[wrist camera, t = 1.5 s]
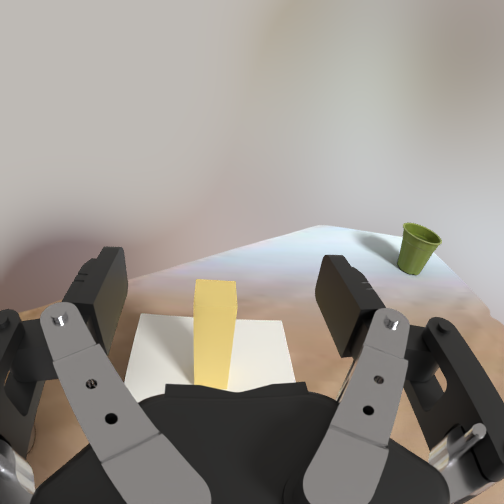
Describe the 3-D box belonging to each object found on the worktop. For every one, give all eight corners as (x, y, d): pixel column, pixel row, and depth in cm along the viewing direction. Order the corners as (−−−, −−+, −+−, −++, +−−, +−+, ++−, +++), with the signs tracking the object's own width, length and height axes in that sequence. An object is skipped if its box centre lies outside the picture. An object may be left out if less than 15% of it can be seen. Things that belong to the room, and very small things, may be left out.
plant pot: (428, 285, 70) (445, 248, 64) (389, 272, 74) (403, 233, 68) (425, 265, 80) (439, 231, 74) (390, 252, 83) (402, 218, 78)
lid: (115, 446, 23) (72, 371, 16) (141, 318, 39) (132, 233, 32) (307, 452, 25) (356, 381, 19) (280, 325, 42) (300, 244, 35)
